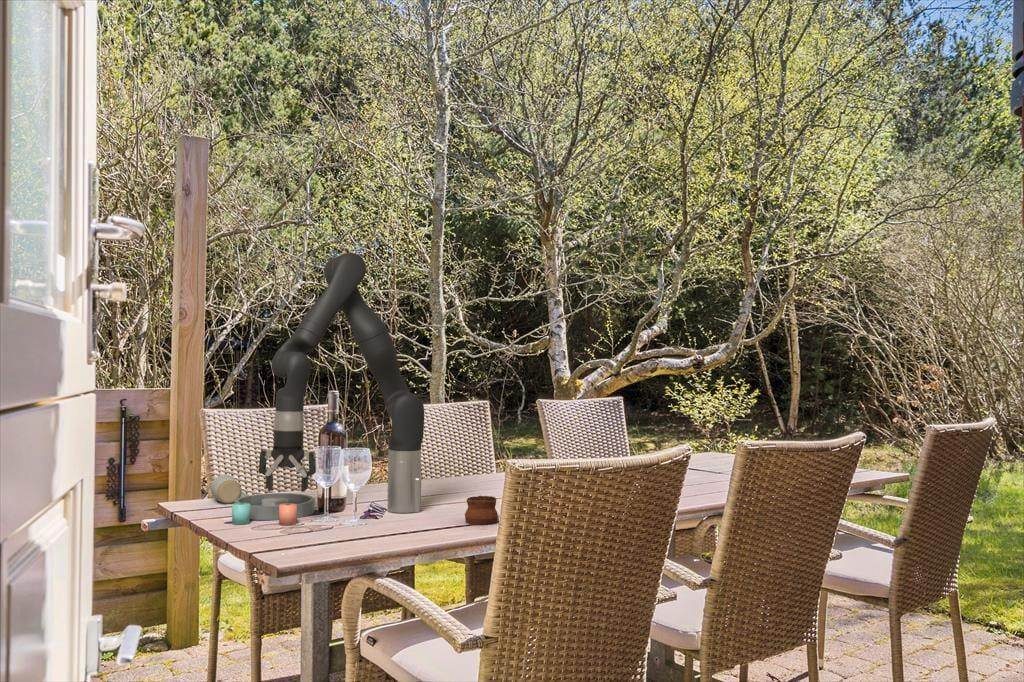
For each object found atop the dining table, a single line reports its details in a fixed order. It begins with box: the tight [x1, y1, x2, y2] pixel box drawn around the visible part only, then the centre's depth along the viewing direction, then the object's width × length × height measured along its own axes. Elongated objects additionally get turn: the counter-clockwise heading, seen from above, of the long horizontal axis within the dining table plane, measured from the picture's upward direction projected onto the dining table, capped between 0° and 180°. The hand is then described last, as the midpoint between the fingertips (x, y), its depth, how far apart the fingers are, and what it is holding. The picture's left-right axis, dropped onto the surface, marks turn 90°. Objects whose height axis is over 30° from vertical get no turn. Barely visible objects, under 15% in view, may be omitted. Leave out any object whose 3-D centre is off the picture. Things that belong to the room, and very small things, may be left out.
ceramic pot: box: [464, 495, 499, 531], centre depth 230 cm, size 18×18×7 cm
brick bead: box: [278, 503, 298, 527], centre depth 224 cm, size 4×4×5 cm
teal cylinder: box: [231, 503, 251, 526], centre depth 223 cm, size 4×4×5 cm
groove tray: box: [233, 492, 316, 521], centre depth 238 cm, size 21×21×4 cm
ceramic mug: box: [210, 474, 250, 505], centre depth 253 cm, size 11×8×8 cm
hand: (286, 490), depth 224 cm, fingers open, 8 cm apart
